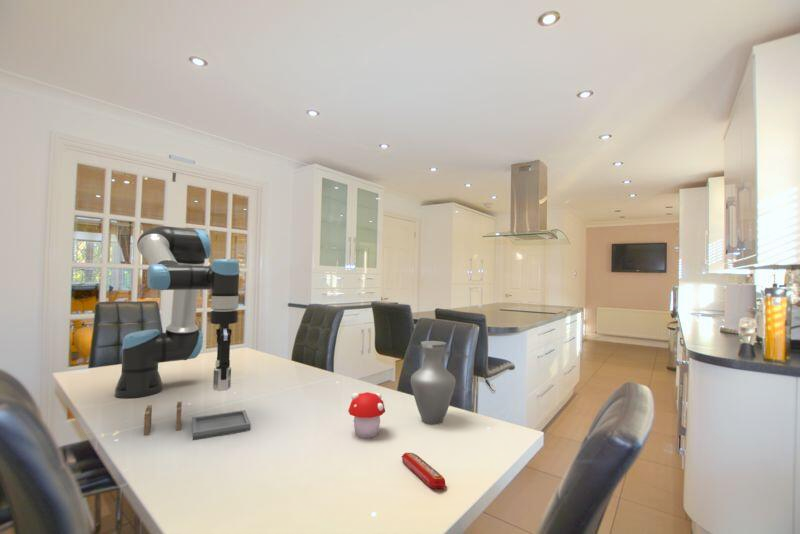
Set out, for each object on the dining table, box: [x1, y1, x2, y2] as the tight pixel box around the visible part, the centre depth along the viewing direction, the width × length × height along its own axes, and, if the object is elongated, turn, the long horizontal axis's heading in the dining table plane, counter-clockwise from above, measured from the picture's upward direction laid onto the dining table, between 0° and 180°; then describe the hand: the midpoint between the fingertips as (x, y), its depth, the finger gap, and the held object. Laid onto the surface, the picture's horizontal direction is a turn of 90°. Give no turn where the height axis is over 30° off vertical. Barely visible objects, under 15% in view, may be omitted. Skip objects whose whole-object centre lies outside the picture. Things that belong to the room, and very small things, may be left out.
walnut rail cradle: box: [143, 401, 183, 436], centre depth 113 cm, size 8×9×6 cm
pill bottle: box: [212, 359, 232, 392], centre depth 114 cm, size 5×5×8 cm
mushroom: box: [347, 391, 386, 439], centre depth 111 cm, size 11×11×12 cm
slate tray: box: [191, 409, 252, 441], centre depth 114 cm, size 13×15×2 cm
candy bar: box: [401, 452, 447, 489], centre depth 89 cm, size 16×4×3 cm, turn 28°
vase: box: [410, 340, 457, 425], centre depth 123 cm, size 14×14×25 cm
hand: (222, 387), depth 114 cm, fingers closed on pill bottle, 5 cm apart
